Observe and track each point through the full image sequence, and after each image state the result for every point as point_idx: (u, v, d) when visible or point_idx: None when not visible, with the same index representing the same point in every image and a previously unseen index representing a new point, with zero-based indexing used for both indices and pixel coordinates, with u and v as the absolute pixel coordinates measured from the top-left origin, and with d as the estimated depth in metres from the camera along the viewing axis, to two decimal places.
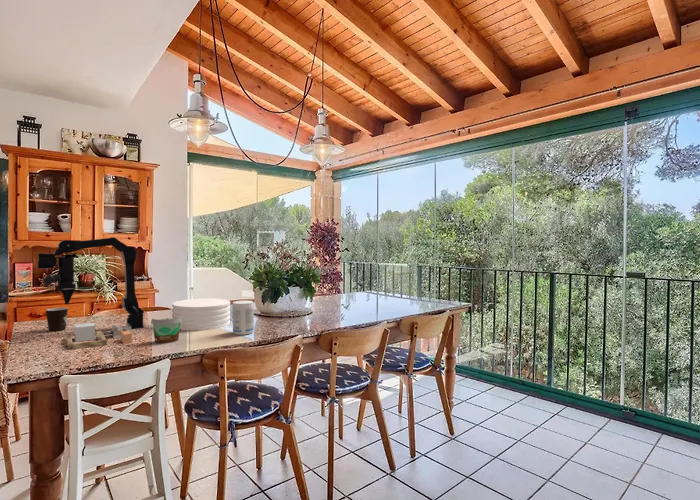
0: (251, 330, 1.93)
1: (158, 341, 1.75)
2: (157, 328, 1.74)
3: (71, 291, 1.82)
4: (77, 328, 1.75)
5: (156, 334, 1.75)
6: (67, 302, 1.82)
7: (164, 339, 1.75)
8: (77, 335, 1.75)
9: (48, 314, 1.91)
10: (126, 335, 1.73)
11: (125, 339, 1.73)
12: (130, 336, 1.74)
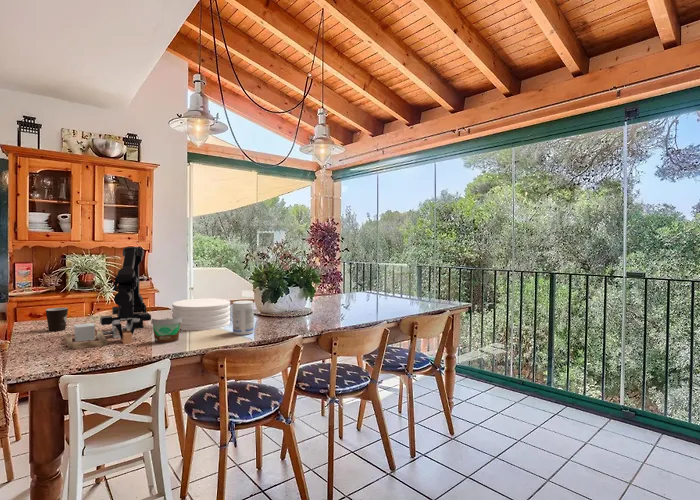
0: (251, 330, 1.93)
1: (158, 341, 1.75)
2: (157, 328, 1.74)
3: (117, 326, 1.74)
4: (77, 328, 1.75)
5: (156, 334, 1.75)
6: None
7: (164, 339, 1.75)
8: (77, 335, 1.75)
9: (48, 314, 1.91)
10: (126, 335, 1.73)
11: (125, 339, 1.73)
12: (130, 336, 1.74)
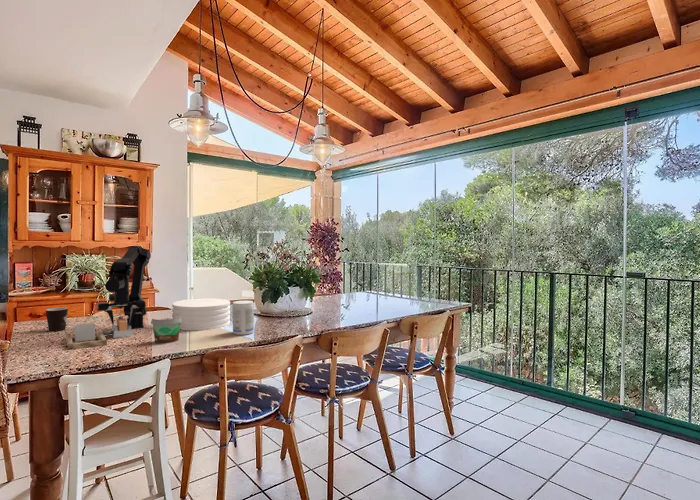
0: (251, 330, 1.93)
1: (158, 341, 1.75)
2: (157, 328, 1.74)
3: None
4: (77, 328, 1.75)
5: (156, 334, 1.75)
6: None
7: (164, 339, 1.75)
8: (77, 335, 1.75)
9: (48, 314, 1.91)
10: (122, 322, 1.83)
11: (121, 326, 1.83)
12: (125, 323, 1.84)
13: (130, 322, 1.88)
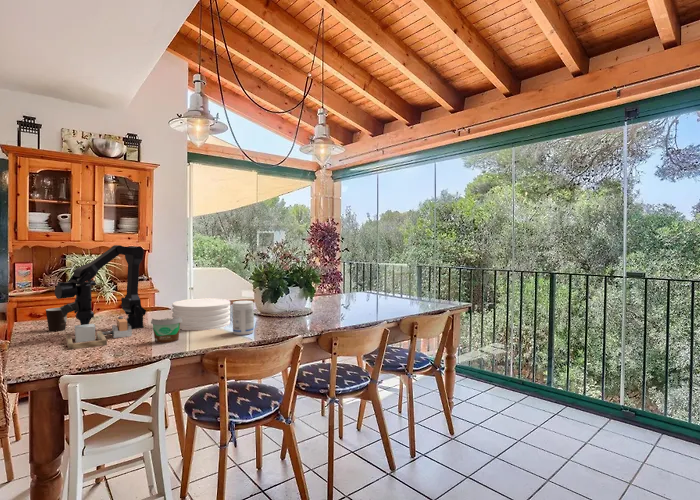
0: (251, 330, 1.93)
1: (158, 341, 1.75)
2: (157, 328, 1.74)
3: (88, 318, 1.82)
4: (77, 329, 1.74)
5: (156, 334, 1.75)
6: None
7: (164, 339, 1.75)
8: (77, 336, 1.74)
9: (48, 314, 1.91)
10: (122, 322, 1.83)
11: (121, 326, 1.83)
12: (125, 323, 1.84)
13: None
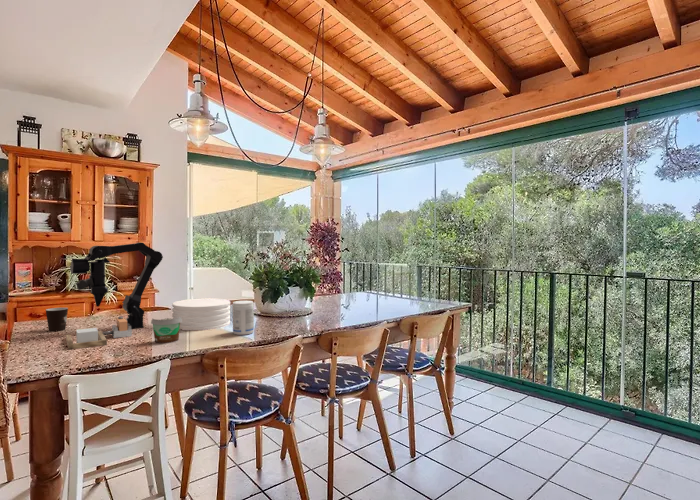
0: (251, 330, 1.93)
1: (158, 341, 1.75)
2: (157, 328, 1.74)
3: (102, 294, 1.91)
4: (79, 333, 1.66)
5: (156, 334, 1.75)
6: (98, 304, 1.92)
7: (164, 339, 1.75)
8: (79, 341, 1.66)
9: (48, 314, 1.91)
10: (122, 322, 1.83)
11: (121, 326, 1.83)
12: (125, 323, 1.84)
13: None
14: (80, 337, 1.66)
